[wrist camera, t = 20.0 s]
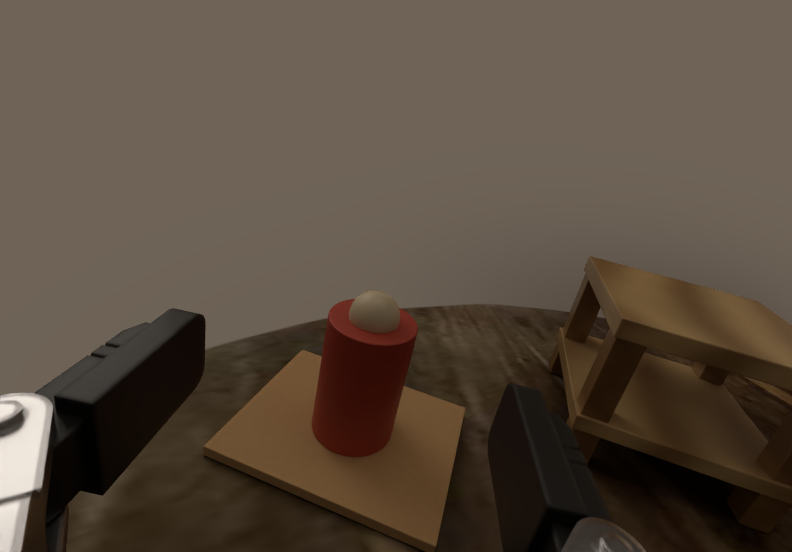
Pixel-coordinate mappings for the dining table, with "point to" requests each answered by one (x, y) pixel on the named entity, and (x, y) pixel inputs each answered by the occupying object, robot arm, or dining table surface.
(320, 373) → the toy figure
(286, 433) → the cork mat
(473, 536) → the dining table surface
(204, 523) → the dining table surface
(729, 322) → the shelf
